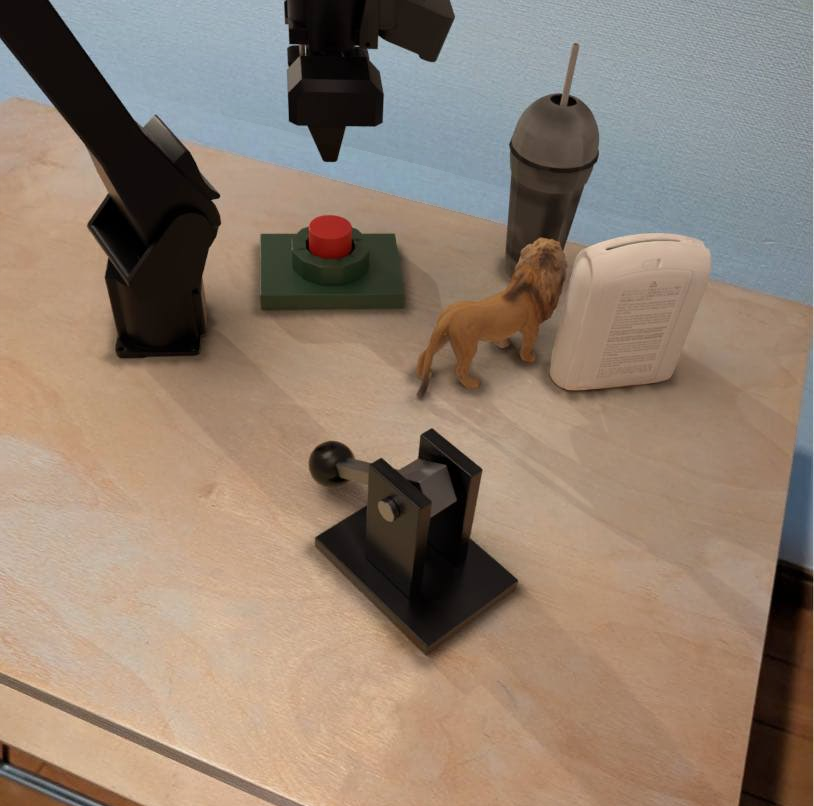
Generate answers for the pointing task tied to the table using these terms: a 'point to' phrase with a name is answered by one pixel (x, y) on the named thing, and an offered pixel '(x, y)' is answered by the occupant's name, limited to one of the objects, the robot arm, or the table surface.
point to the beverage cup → (549, 168)
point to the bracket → (419, 550)
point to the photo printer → (629, 310)
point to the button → (330, 237)
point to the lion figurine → (500, 313)
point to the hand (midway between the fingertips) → (329, 159)
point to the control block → (330, 274)
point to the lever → (339, 466)
